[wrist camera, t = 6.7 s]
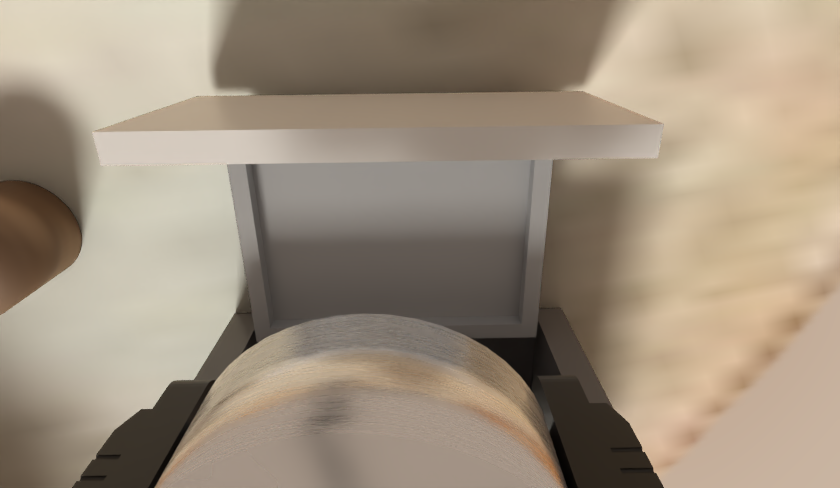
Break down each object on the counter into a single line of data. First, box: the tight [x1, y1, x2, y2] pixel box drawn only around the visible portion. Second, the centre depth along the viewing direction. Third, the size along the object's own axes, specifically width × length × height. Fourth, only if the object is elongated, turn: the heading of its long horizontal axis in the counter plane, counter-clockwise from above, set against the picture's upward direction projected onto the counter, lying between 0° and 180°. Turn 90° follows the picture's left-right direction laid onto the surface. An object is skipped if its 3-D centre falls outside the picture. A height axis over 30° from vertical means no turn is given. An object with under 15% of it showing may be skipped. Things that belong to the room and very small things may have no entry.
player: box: [194, 308, 613, 408], centre depth 21 cm, size 12×14×6 cm
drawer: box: [92, 91, 664, 342], centre depth 16 cm, size 9×13×6 cm
